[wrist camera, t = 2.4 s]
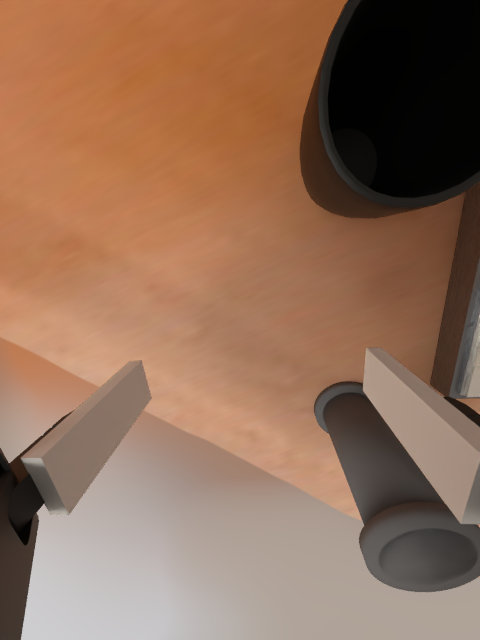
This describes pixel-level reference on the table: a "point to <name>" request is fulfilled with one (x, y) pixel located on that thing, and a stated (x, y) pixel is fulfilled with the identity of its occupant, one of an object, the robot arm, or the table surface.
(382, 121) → the mug
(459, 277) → the breaker strip
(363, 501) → the dark grey flanged cylinder
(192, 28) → the table surface
